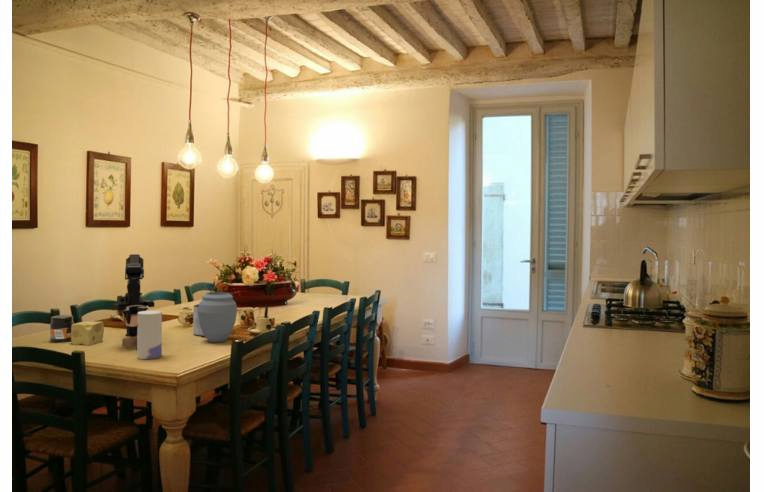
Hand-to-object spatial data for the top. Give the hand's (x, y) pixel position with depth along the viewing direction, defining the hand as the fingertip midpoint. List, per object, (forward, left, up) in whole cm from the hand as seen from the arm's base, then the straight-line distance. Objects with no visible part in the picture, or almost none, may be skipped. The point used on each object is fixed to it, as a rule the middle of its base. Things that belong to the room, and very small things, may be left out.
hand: (133, 323), depth 272 cm
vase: (-33, +20, -11) cm, 41 cm away
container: (+8, +25, -11) cm, 28 cm away
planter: (-42, +2, -11) cm, 44 cm away
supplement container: (+15, -38, -11) cm, 42 cm away
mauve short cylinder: (0, 0, -11) cm, 11 cm away
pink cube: (0, 0, -1) cm, 1 cm away
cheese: (+10, -24, -11) cm, 28 cm away
